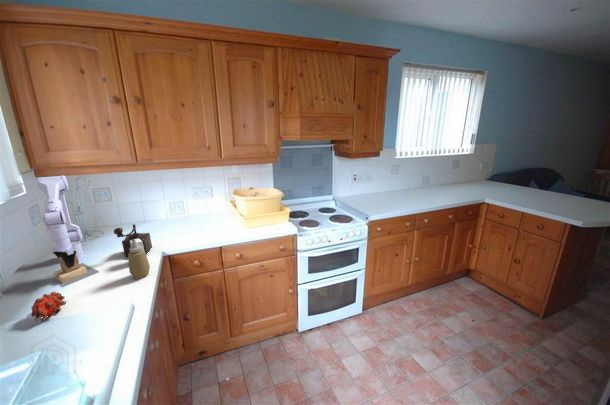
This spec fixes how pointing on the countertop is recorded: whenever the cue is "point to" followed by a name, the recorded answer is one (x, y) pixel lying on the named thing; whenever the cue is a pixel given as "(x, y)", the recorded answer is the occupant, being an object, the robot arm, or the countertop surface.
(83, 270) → the oak base
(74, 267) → the walnut block
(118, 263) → the countertop surface
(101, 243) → the countertop surface
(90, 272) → the slate mat
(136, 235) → the coffee grinder
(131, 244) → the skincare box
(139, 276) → the squeeze bottle
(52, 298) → the dragon fruit
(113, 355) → the countertop surface
